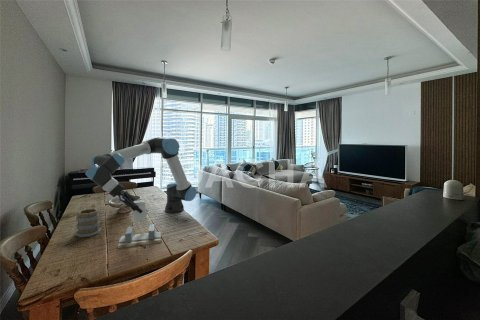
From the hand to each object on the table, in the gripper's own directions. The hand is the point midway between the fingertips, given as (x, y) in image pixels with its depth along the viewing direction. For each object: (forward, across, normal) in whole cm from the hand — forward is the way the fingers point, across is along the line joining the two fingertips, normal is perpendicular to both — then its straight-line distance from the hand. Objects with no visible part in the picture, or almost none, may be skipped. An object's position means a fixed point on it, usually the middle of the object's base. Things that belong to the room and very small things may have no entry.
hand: (146, 213), depth 129 cm
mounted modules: (+7, 0, -12) cm, 14 cm away
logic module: (0, 0, -5) cm, 5 cm away
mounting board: (+9, 0, -14) cm, 16 cm away
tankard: (-13, -25, -36) cm, 46 cm away
